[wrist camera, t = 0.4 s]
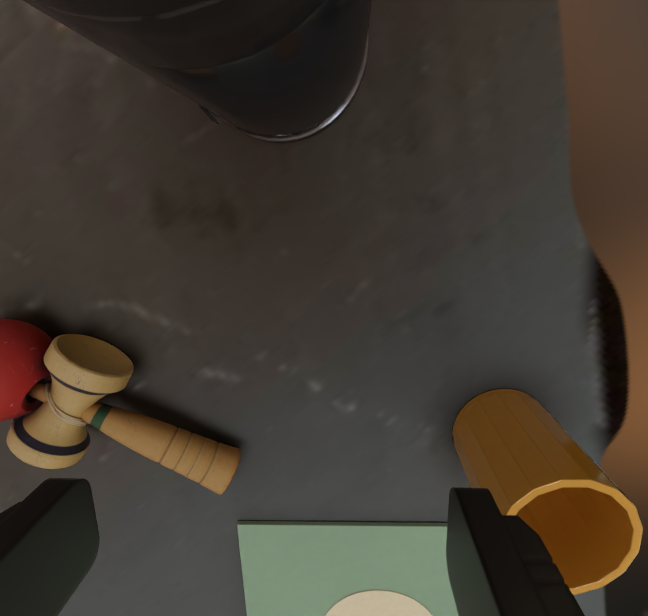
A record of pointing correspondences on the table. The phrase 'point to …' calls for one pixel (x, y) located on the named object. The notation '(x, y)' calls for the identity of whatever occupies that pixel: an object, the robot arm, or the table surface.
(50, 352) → the kendama
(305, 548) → the mat
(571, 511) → the cup
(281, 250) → the table surface
